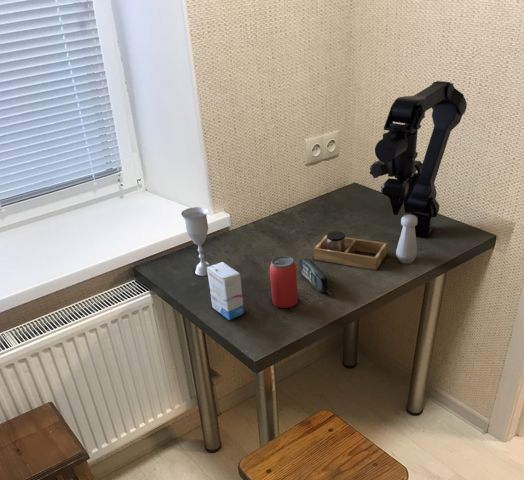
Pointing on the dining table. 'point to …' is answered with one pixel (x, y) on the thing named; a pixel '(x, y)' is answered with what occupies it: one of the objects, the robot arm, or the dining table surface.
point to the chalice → (197, 233)
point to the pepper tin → (336, 241)
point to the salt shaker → (407, 240)
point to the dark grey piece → (314, 275)
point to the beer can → (283, 282)
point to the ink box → (225, 290)
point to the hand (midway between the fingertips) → (400, 207)
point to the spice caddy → (352, 253)
